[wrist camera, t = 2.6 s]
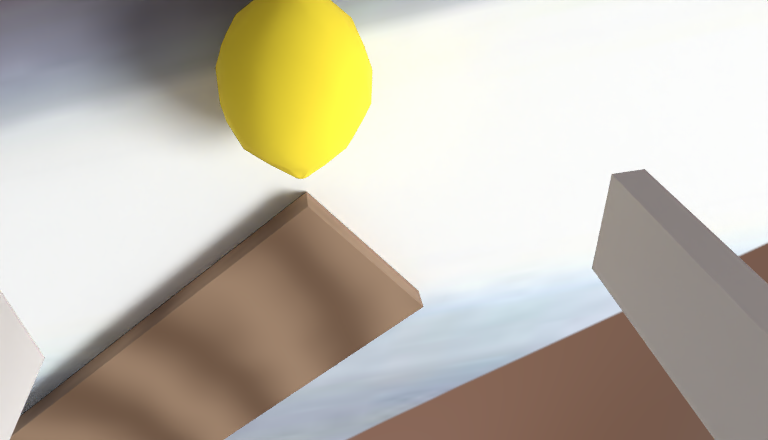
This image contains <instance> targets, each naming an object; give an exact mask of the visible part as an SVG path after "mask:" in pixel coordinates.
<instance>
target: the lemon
mask: <svg viewBox="0 0 768 440" xmlns="http://www.w3.org/2000/svg"><path fill="white" fill-rule="evenodd" d="M215 69H216V77H217V84H218V92H219V100H220V105H221V108H222V110H223V113H224V116H225V119H226V122H227V123H228V125H229V127H230V128H231V130H232V131H233V133H234V134H235V136H236V138H237V139H238V141H239V142H240V144H241V145H242V147H243V149H245V150H246V151H248V152H250V153H251V154H253V155H255V156H256V157H258V158H260V159H261V160H263V161H265V162H266V163H268V164H270V165H272V166H274V167H276V168H278V169H280V170H282V171H284V172H286V173H288V174H290V175H292V176H294V177H296V178H299V179H303V178H306V177H308V176H309V175H311V174H312V173H314V172H315V171H317V170H318V169H319V168H321V167H322V166H324V165H325V164H327V163H328V162H329V161H331V160H332V159H333V158H334V157H335V156H337V155H338V154H339V153H340V152H342V151H343V150H344V149H345V148H347V146H348V144H349V143H350V141H351V140H352V138H353V136H354V135H355V133H356V131H357V129H358V127H359V126H360V124H361V122H362V121H363V119H364V117H365V115H366V113H367V111H368V109H369V107H370V105H371V93H372V67H371V64H370V62H369V59H368V56H367V53H366V50H365V47H364V45H363V42H362V40H361V38H360V36H359V34H358V31H357V29H356V27H355V25H354V22H353V20H352V18H351V17H350V16H349V15H347V14H346V13H345V12H344V11H343V10H342V9H340V8H339V7H338V6H337V5H336V4H334V3H333V2H332V1H331V0H253V1H252V2H250V3H249V4H248V5H247V6H245V7H244V8H243V9H242V10H241V11H239V12H238V13H237V14H236V15H235V17H234V19H233V21H232V23H231V25H230V27H229V29H228V30H227V32H226V34H225V37H224V40H223V42H222V44H221V48H220V52H219V56H218V59H217V63H216V67H215Z"/></svg>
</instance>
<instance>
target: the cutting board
mask: <svg viewBox="0 0 768 440" xmlns="http://www.w3.org/2000/svg"><path fill="white" fill-rule="evenodd" d="M422 307H423V304H422V301H421V298H420V294H419V291H418V290H417V289H416V288H414V287H413V286H412V285H411V284H410V283H409V282H408V281H407V280H405V279H404V278H403V277H402V276H401V275H400V274H399V273H398V272H396V271H395V270H394V269H393V268H392V267H391V266H390V265H389V264H387V263H386V262H385V261H384V260H383V259H382V258H381V257H380V256H378V255H377V254H376V253H375V252H374V251H373V250H372V249H371V248H369V247H368V246H367V245H366V244H365V243H364V242H363V241H362V240H360V239H359V238H358V237H357V236H356V235H355V234H354V233H353V232H351V231H350V230H349V229H348V228H347V227H346V226H345V225H343V224H342V223H341V222H340V221H339V220H338V219H337V218H336V217H334V216H333V215H332V214H331V213H330V212H329V211H328V210H327V209H325V208H324V207H323V206H322V205H321V204H320V203H319V202H318V201H316V200H315V199H314V198H313V197H312V196H311V195H310V194H309V193H307V192H305V193H304V194H303V195H301V196H300V197H299V198H298V199H296V200H295V201H294V202H293V203H291V204H290V205H289V206H287V207H286V208H285V209H284V210H282V211H281V212H280V213H279V214H277V215H276V216H275V217H273V218H272V219H271V220H270V221H268V222H267V223H266V224H265V225H263V226H262V227H261V228H259V229H258V230H257V231H256V232H254V233H253V234H252V235H251V236H249V237H248V238H247V239H245V240H244V241H243V242H242V243H240V244H239V245H238V246H236V247H235V248H234V249H233V250H231V251H230V252H229V253H228V254H226V255H225V256H224V257H222V258H221V259H220V260H219V261H217V262H216V263H215V264H214V265H212V266H211V267H210V268H208V269H207V270H206V271H205V272H203V273H202V274H201V275H200V276H198V277H197V278H196V279H194V280H193V281H192V282H191V283H189V284H188V285H187V286H186V287H184V288H183V289H182V290H180V291H179V292H178V293H177V294H175V295H174V296H173V297H172V298H170V299H169V300H168V301H166V302H165V303H164V304H163V305H161V306H160V307H159V308H158V309H156V310H155V311H154V312H152V313H151V314H150V315H149V316H147V317H146V318H145V319H144V320H142V321H141V322H140V323H138V324H137V325H136V326H135V327H133V328H132V329H131V330H130V331H128V332H127V333H126V334H124V335H123V336H122V337H121V338H119V339H118V340H117V341H115V342H114V343H113V344H112V345H110V346H109V347H108V348H107V349H105V350H104V351H103V352H101V353H100V354H99V355H98V356H96V357H95V358H94V359H93V360H91V361H90V362H89V363H87V364H86V365H85V366H84V367H82V368H81V369H80V370H79V371H77V372H76V373H75V374H73V375H72V376H71V377H70V378H68V379H67V380H66V381H65V382H63V383H62V384H61V385H59V386H58V387H57V388H56V389H54V390H53V391H52V392H51V393H49V394H48V395H47V396H45V397H44V398H43V399H42V400H40V401H39V402H38V403H37V404H35V405H34V406H33V407H31V408H30V409H29V410H28V411H26V412H25V413H24V414H23V415H21V416H20V417H19V419H18V422H17V424H16V426H15V429H14V431H13V433H12V436H11V438H10V440H224V439H225V438H227V437H228V436H230V435H231V434H233V433H234V432H236V431H237V430H239V429H240V428H242V427H243V426H245V425H246V424H248V423H249V422H251V421H252V420H254V419H255V418H257V417H258V416H260V415H261V414H263V413H264V412H266V411H267V410H269V409H270V408H272V407H273V406H275V405H276V404H278V403H279V402H281V401H282V400H284V399H285V398H287V397H288V396H290V395H291V394H293V393H294V392H296V391H297V390H299V389H300V388H302V387H303V386H305V385H306V384H308V383H309V382H311V381H312V380H314V379H315V378H317V377H318V376H320V375H321V374H323V373H324V372H326V371H327V370H329V369H330V368H332V367H333V366H335V365H336V364H338V363H339V362H341V361H342V360H344V359H345V358H347V357H348V356H350V355H351V354H353V353H354V352H356V351H357V350H359V349H360V348H362V347H363V346H365V345H366V344H368V343H369V342H371V341H372V340H374V339H375V338H377V337H378V336H380V335H382V334H383V333H385V332H386V331H388V330H389V329H391V328H392V327H394V326H395V325H397V324H398V323H400V322H401V321H403V320H404V319H406V318H407V317H409V316H410V315H412V314H413V313H415V312H416V311H418V310H419V309H421V308H422Z"/></svg>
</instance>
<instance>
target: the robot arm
mask: <svg viewBox="0 0 768 440" xmlns="http://www.w3.org/2000/svg"><path fill="white" fill-rule="evenodd" d="M592 269H593V270H594V272H595V273H596V274H597V276H598V277H599V279H600V280H601V281H602V283H603V284H604V286H605V287H606V288H607V290H608V291H609V293H610V294H611V295H612V297H613V298H614V300H615V301H616V302H617V304H618V305H619V307H620V308H621V309H622V311H623V312H624V314H625V315H626V316H627V318H628V319H629V321H630V322H631V323H632V325H633V326H634V328H635V329H636V330H637V332H638V333H639V335H640V336H641V337H642V339H643V340H644V342H645V343H646V344H647V346H648V347H649V349H650V350H651V351H652V353H653V354H654V356H655V357H656V358H657V360H658V361H659V362H660V364H661V365H662V366H663V368H664V369H665V371H666V372H667V374H668V375H669V376H670V378H671V379H672V381H673V382H674V383H675V385H676V386H677V387H678V389H679V390H680V392H681V393H682V395H683V396H684V397H685V399H686V400H687V402H688V403H689V404H690V406H691V407H692V409H693V410H694V411H695V413H696V414H697V416H698V417H699V418H700V420H701V421H702V423H703V424H704V425H705V427H706V428H707V430H708V431H709V432H710V434H711V435H712V437H713V438H714V439H715V440H768V284H767V283H766V282H765V281H764V280H763V279H762V278H761V277H759V275H757V274H756V273H755V272H754V271H753V270H752V269H751V268H750V267H749V266H748V265H747V264H746V263H745V262H744V261H742V260H741V259H740V258H739V257H738V256H737V255H736V254H735V253H734V252H733V251H732V250H731V249H730V248H729V247H727V246H726V245H725V244H724V243H723V242H722V241H721V240H720V239H719V238H718V237H717V236H716V235H715V234H714V233H712V232H711V231H710V230H709V229H708V228H707V227H706V226H705V225H704V224H703V223H702V222H701V221H700V220H699V219H697V218H696V217H695V216H694V215H693V214H692V213H691V212H690V211H689V210H688V209H687V208H686V207H685V206H684V205H682V204H681V203H680V202H679V201H678V200H677V199H676V198H675V197H674V196H673V195H672V194H671V193H670V192H668V191H667V190H666V189H665V188H664V187H663V186H662V185H661V184H660V183H659V182H658V181H657V180H656V179H655V178H653V177H652V176H651V175H650V174H649V173H648V172H647V171H646V170H645V169H643V170H636V171H630V172H623V173H616V174H612V176H611V181H610V185H609V190H608V195H607V200H606V204H605V209H604V214H603V219H602V223H601V228H600V233H599V237H598V242H597V247H596V252H595V256H594V261H593V266H592ZM44 358H45V357H44V356H43V354H42V353H41V351H40V350H39V348H38V347H37V345H36V344H35V342H34V341H33V339H32V338H31V336H30V335H29V333H28V332H27V330H26V328H25V327H24V325H23V324H22V322H21V321H20V319H19V318H18V316H17V315H16V313H15V312H14V310H13V309H12V307H11V306H10V304H9V303H8V301H7V300H6V298H5V297H4V295H3V293H2V292H1V290H0V440H10V438H11V436H12V433H13V431H14V429H15V426H16V424H17V422H18V419H19V417H20V415H21V412H22V410H23V408H24V405H25V403H26V401H27V398H28V396H29V394H30V391H31V389H32V387H33V384H34V382H35V380H36V377H37V375H38V372H39V370H40V368H41V365H42V363H43V361H44Z"/></svg>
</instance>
